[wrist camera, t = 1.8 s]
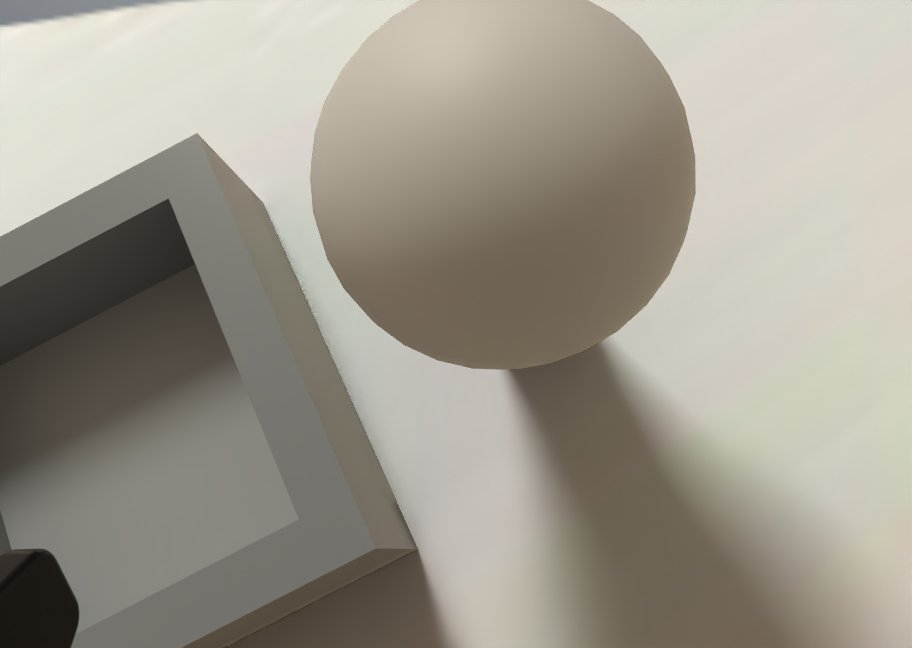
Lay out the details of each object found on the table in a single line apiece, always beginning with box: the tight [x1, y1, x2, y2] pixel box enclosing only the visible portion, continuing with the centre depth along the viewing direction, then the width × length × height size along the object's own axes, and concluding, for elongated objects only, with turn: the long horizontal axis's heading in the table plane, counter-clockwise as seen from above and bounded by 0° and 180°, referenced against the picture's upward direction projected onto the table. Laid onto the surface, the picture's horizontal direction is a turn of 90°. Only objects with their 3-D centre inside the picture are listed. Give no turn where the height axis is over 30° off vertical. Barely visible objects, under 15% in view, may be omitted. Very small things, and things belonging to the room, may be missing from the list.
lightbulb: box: [310, 0, 695, 370], centre depth 16 cm, size 6×6×11 cm
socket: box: [0, 134, 417, 648], centre depth 20 cm, size 10×10×4 cm
